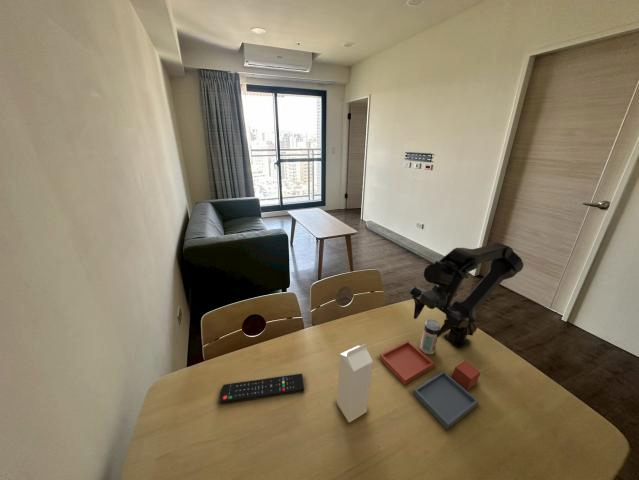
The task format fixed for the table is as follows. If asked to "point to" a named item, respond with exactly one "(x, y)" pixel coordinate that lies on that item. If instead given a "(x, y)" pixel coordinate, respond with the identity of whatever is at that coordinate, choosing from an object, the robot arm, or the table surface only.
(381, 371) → the table surface
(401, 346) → the red tray
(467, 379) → the red block
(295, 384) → the remote control
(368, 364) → the milk
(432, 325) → the pill bottle
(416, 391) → the grey tray
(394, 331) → the table surface
